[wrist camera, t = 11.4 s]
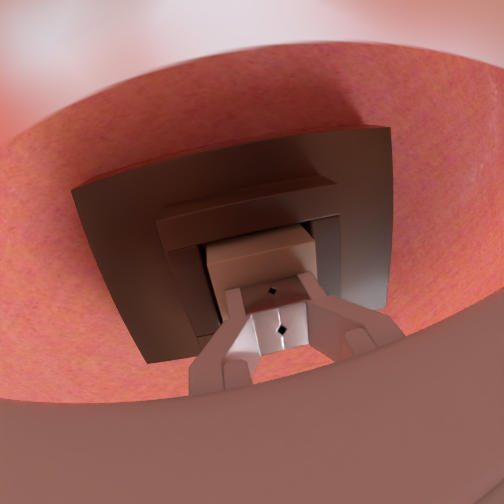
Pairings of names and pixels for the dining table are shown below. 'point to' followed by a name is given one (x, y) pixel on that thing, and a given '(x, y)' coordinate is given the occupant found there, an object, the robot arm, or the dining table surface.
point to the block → (238, 224)
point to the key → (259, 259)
